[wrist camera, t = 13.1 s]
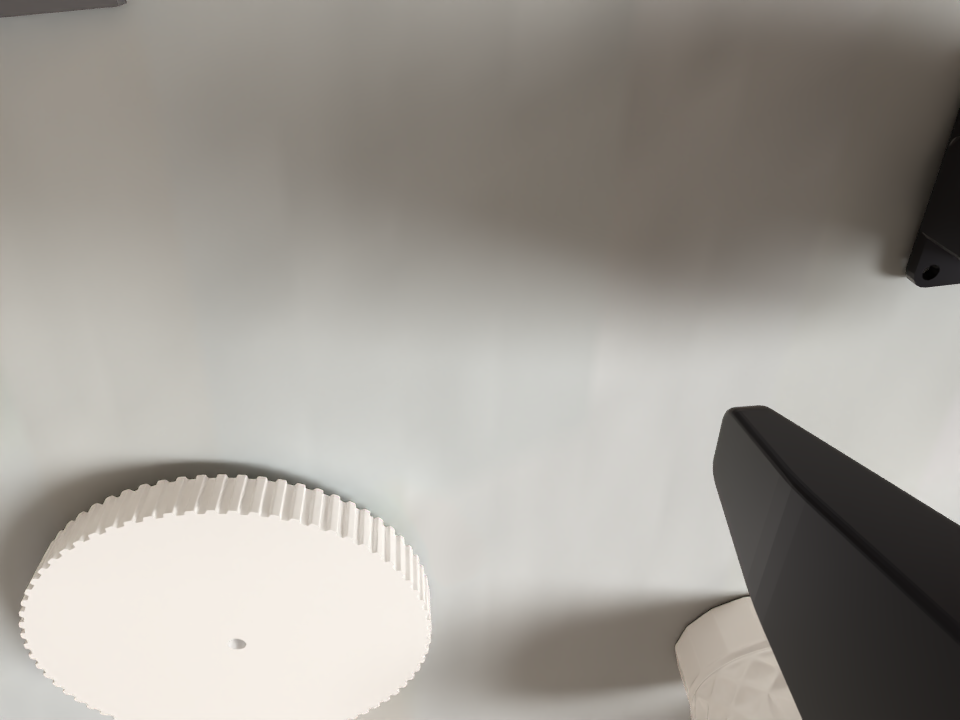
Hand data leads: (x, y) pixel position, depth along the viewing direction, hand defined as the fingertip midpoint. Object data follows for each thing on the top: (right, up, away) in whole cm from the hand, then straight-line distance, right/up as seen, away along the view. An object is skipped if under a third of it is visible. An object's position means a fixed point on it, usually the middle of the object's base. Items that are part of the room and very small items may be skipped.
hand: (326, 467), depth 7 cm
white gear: (-7, -7, +19) cm, 22 cm away
